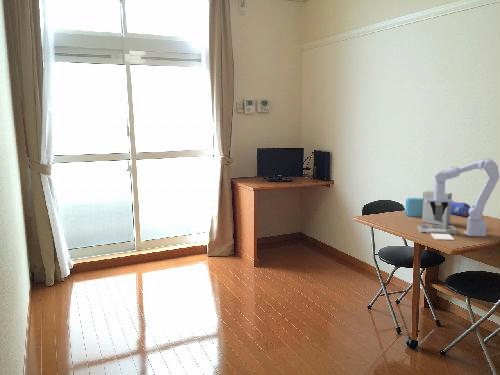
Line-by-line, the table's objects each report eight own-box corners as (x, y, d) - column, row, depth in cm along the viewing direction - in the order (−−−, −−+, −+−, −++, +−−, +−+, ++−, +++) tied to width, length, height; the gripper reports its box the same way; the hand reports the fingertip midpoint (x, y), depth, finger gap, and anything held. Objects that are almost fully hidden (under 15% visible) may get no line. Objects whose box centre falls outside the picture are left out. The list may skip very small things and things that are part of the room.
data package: (422, 214, 283) (423, 197, 281) (425, 216, 279) (426, 199, 276) (405, 215, 283) (406, 198, 281) (407, 216, 279) (408, 199, 276)
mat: (449, 235, 237) (449, 234, 237) (454, 240, 228) (454, 239, 228) (430, 234, 239) (430, 233, 239) (435, 239, 230) (435, 238, 229)
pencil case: (434, 211, 292) (435, 198, 290) (442, 209, 296) (443, 196, 294) (463, 218, 273) (464, 204, 271) (471, 216, 277) (472, 202, 275)
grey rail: (452, 229, 247) (453, 225, 247) (456, 233, 239) (457, 229, 239) (417, 228, 251) (417, 224, 250) (420, 232, 243) (420, 228, 243)
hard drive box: (450, 223, 260) (452, 192, 257) (446, 226, 255) (448, 194, 251) (425, 219, 271) (427, 189, 267) (421, 222, 265) (422, 191, 262)
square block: (440, 219, 245) (441, 204, 244) (442, 221, 242) (443, 206, 240) (433, 219, 246) (434, 204, 244) (434, 220, 242) (435, 205, 241)
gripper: (450, 191, 243) (449, 213, 246) (424, 190, 246) (423, 212, 248) (454, 193, 236) (452, 216, 239) (427, 192, 239) (426, 215, 242)
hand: (437, 214), depth 243 cm, fingers closed on square block, 4 cm apart
